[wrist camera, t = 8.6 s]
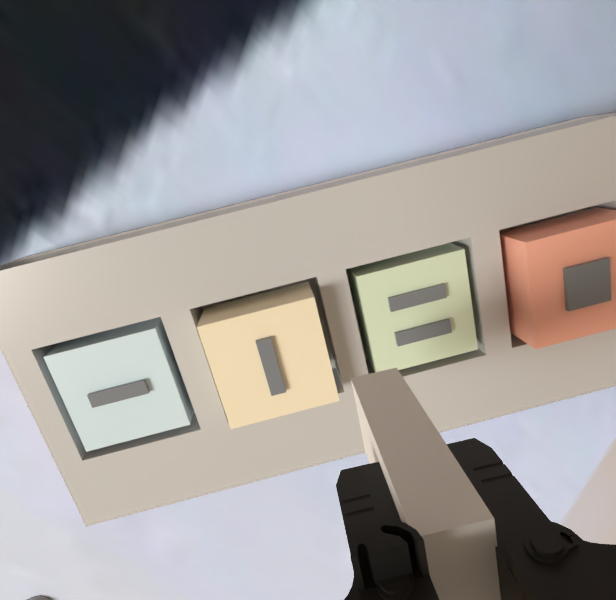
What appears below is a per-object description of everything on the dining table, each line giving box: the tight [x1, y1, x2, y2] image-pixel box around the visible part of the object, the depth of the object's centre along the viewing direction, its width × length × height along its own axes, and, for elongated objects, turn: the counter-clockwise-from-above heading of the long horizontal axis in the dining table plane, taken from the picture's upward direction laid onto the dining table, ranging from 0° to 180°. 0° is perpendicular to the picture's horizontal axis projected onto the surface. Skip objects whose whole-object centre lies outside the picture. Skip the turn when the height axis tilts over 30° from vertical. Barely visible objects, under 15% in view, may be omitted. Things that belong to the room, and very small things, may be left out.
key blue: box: [43, 317, 194, 452], centre depth 20 cm, size 5×5×3 cm
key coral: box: [499, 208, 616, 349], centre depth 19 cm, size 5×5×3 cm
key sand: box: [197, 282, 340, 429], centre depth 19 cm, size 5×5×3 cm
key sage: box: [347, 243, 478, 372], centre depth 20 cm, size 5×5×3 cm
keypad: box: [0, 112, 616, 526], centre depth 21 cm, size 27×12×4 cm, turn 103°
